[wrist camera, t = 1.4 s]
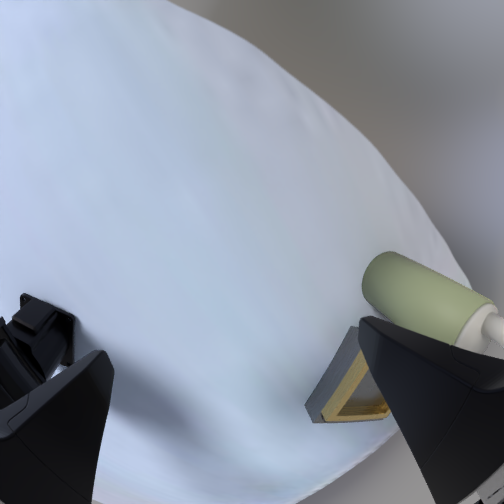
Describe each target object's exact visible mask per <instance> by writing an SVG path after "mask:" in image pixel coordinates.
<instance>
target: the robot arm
mask: <svg viewBox="0 0 504 504" xmlns="http://www.w3.org/2000/svg"><path fill="white" fill-rule="evenodd" d="M24 298H25V299H24ZM68 318H70V319H71V321H70V320H69V319H68ZM74 329H75V318H74V316H73V315H72V314H70V313H68V312H65V311H63V310H61V309H58V308H56V307H54V306H52V305H50V304H48V303H46V302H43V301H41V300H39V299H37V298H34V297H32V296H30V295H28V294H26V293H23V294H22V295H21V296H20V310H19V311H18V312H17V313H16V314H14V315H13V316H12V320H11V321H10V322H9V323H8V324H7V325H6V324H5V320H4V318H3V317H1V318H0V504H91V502H92V494H93V487H94V480H95V474H96V468H97V462H98V457H99V451H100V446H101V442H102V437H103V432H104V428H105V423H106V419H107V415H108V411H109V406H110V399H111V392H112V385H113V379H114V368H113V365H112V363H111V361H110V359H109V357H108V355H107V353H106V351H104V350H94V351H93V352H91V353H90V354H88V355H86V356H85V357H83V358H82V359H80V360H79V361H77V362H76V363H74ZM358 343H359V346H360V348H361V350H362V353H363V355H364V358H365V360H366V363H367V365H368V368H369V370H370V372H371V375H372V377H373V379H374V381H375V383H376V385H377V386H378V388H379V390H380V392H381V394H382V396H383V397H384V399H385V401H386V403H387V405H388V407H389V409H390V410H391V412H392V414H393V416H394V418H395V420H396V422H397V424H398V426H399V428H400V430H401V432H402V433H403V436H404V437H405V439H406V441H407V443H408V445H409V447H410V449H411V451H412V453H413V455H414V458H415V460H416V462H417V464H418V466H419V468H420V469H421V472H422V475H423V477H424V479H425V481H426V483H427V485H428V487H429V489H430V492H431V494H432V496H433V498H434V501H435V503H436V504H459V503H461V502H462V501H464V500H465V499H466V498H468V497H469V496H471V495H472V494H473V493H474V492H476V491H477V493H478V495H479V496H480V498H481V499H480V500H479V501H477V502H476V503H474V504H504V360H503V359H499V358H495V357H491V356H486V355H483V354H479V353H475V352H471V351H468V350H465V349H462V348H459V347H456V346H454V345H449V344H448V343H445V342H442V341H439V340H436V339H434V338H431V337H428V336H425V335H423V334H420V333H417V332H414V331H411V330H409V329H406V328H403V327H401V326H398V325H395V324H392V323H390V322H387V321H384V320H382V319H379V318H376V317H373V316H367V317H363V318H361V319H360V321H359V330H358ZM59 364H62V365H64V366H66V367H68V368H67V369H65V370H63V371H62V372H60V373H59V374H57V375H56V376H54V377H53V378H51V377H52V375H53V374H54V372H55V370H56V369H57V367H58V365H59Z"/></svg>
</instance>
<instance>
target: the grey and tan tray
mask: <svg viewBox="0 0 504 504" xmlns="http://www.w3.org/2000/svg"><path fill="white" fill-rule="evenodd" d="M358 330H359V328H358V327H353V326H351V327H350V329H349V331H348V333H347V334H346V336H345V338H344V340H343V342H342V344H341V346H340V347H339V349H338V351H337V353H336V355H335V356H334V358H333V360H332V362H331V363H330V365H329V367H328V368H327V370H326V372H325V373H324V375H323V377H322V378H321V380H320V382H319V383H318V385H317V387H316V388H315V390H314V391H313V393H312V394H311V396H310V398H309V399H308V401H307V402H306V404H305V407H306V409H307V412H308V414H309V416H310V418H311V420H312V423H347V422H363V421H375V420H383V418H387V416H388V415H389V414H390V412H391V410H390V409H389V407H388V405H387V403H386V401H385V399H384V397H383V396H382V394H381V392H380V390H379V388H378V386H377V385H376V383H375V381H374V379H373V377H372V375H371V372H370V370H369V368H368V365H367V363H366V360H365V358H364V355H363V353H362V350H361V348H360V346H359V343H358Z"/></svg>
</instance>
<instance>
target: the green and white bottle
mask: <svg viewBox="0 0 504 504" xmlns="http://www.w3.org/2000/svg"><path fill="white" fill-rule="evenodd" d="M362 292H363V295H364V297H365V299H366V300H367V301H368V302H369V303H370V304H371V305H373V306H374V307H375V308H376V309H377V310H379V311H380V312H381V313H382V314H383V315H385V316H386V317H387V318H388V319H389V320H391V321H392V322H393V323H394V324H395V325H398V326H401V327H403V328H406V329H409V330H411V331H414V332H417V333H420V334H423V335H425V336H428V337H431V338H434V339H436V340H439V341H442V342H445V343H448V344H449V345H454V346H456V347H459V348H462V349H465V350H468V351H471V352H475V353H479V354H483V353H484V352H485V350H486V349H487V347H488V345H489V344H490V342H491V340H492V341H494V342H495V343H497V344H498V345H499V346H501V347H502V348H504V318H502V317H501V316H499V315H498V309H497V307H496V306H495V305H494V303H493V301H491V300H489V299H488V298H486V297H484V296H482V295H480V294H479V293H477V292H475V291H473V290H471V289H469V288H467V287H465V286H463V285H462V284H460V283H458V282H456V281H454V280H452V279H450V278H448V277H446V276H444V275H442V274H440V273H438V272H436V271H434V270H432V269H430V268H428V267H426V266H424V265H421V264H419V263H417V262H415V261H413V260H411V259H409V258H407V257H405V256H402V255H400V254H398V253H396V252H391V251H390V252H384V253H382V254H380V255H378V256H377V257H376V258H374V259H373V260H372V262H371V263H370V264H369V266H368V267H367V269H366V271H365V273H364V276H363V280H362Z"/></svg>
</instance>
